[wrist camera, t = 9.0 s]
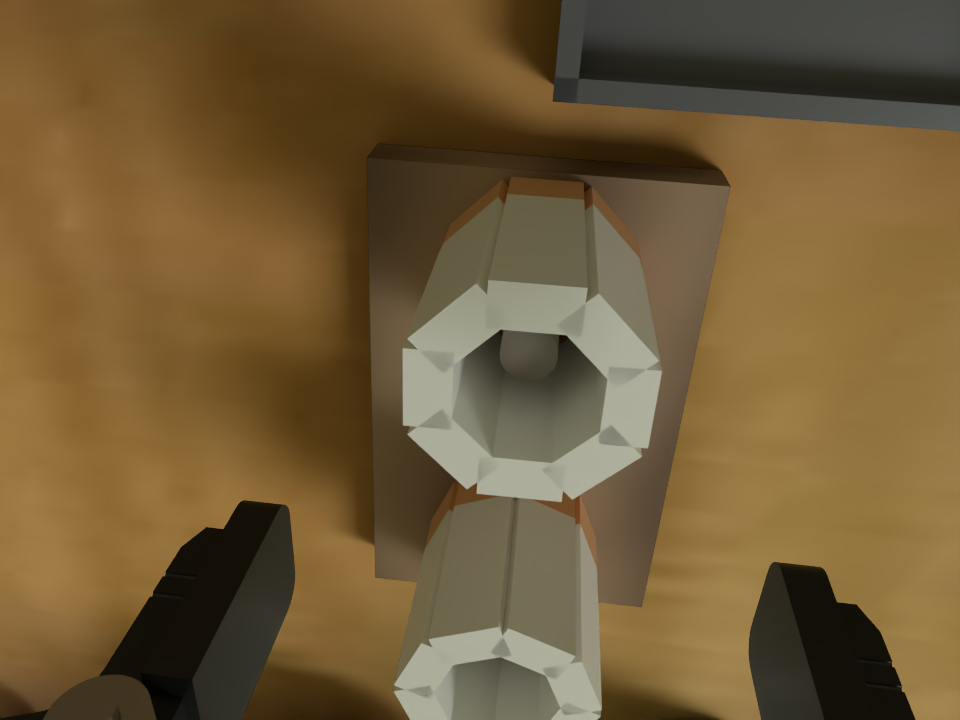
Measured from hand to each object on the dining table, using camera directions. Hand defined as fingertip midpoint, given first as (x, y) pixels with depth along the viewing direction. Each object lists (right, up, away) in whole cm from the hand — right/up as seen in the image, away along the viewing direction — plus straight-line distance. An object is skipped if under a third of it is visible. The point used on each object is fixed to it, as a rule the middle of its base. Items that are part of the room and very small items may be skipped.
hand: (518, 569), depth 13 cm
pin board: (+1, +2, +14) cm, 14 cm away
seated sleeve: (0, -3, +15) cm, 15 cm away
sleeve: (+1, +6, +10) cm, 12 cm away
